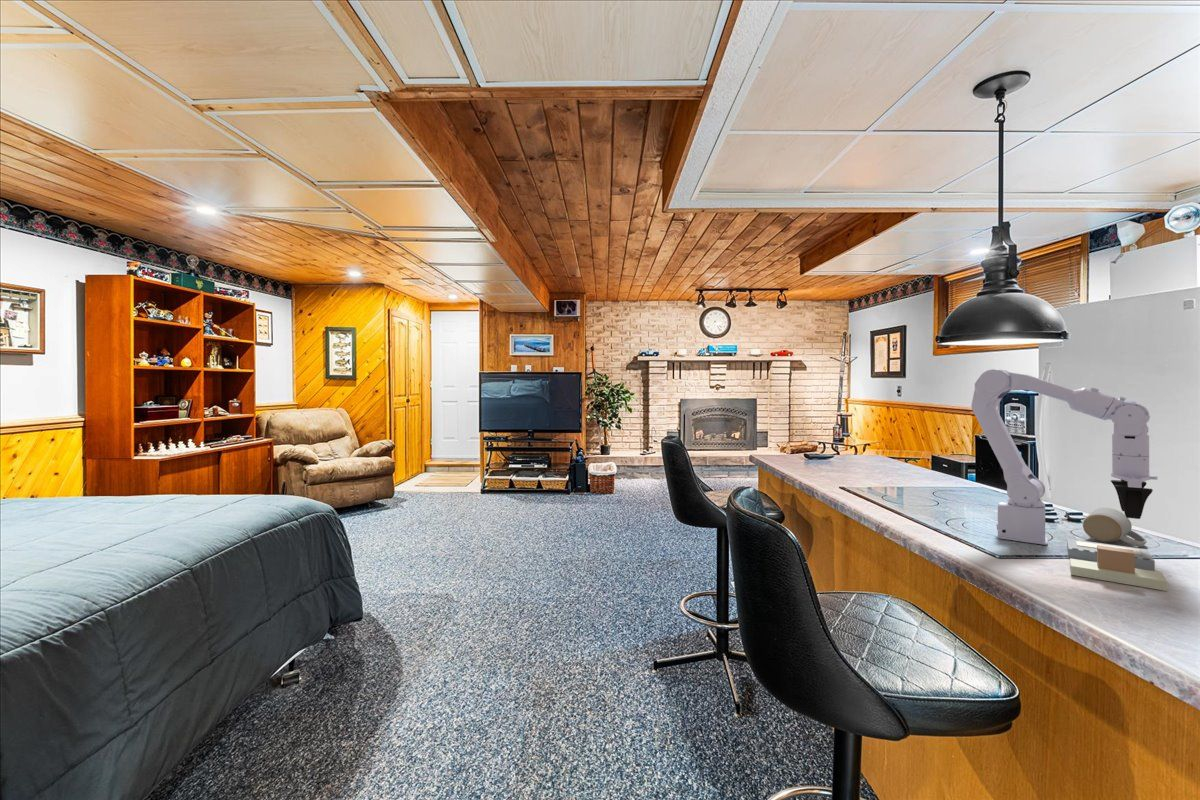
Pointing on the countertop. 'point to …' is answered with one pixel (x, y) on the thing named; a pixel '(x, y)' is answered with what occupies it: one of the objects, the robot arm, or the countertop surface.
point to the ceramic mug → (1111, 527)
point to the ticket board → (1089, 549)
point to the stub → (1118, 569)
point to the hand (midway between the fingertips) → (1130, 514)
